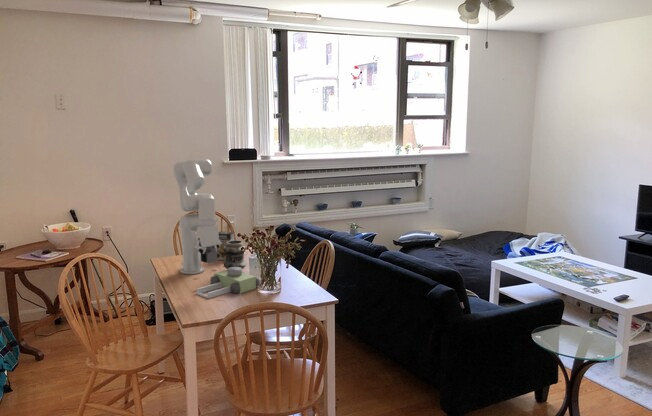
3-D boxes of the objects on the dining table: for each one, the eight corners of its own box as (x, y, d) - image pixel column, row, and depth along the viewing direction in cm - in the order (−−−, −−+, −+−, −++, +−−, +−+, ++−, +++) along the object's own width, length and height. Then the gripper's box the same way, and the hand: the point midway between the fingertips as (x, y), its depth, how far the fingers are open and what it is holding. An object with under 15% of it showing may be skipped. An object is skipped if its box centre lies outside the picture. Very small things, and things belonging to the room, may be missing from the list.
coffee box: (216, 260, 304) (215, 233, 301) (220, 257, 310) (219, 231, 307) (231, 260, 302) (230, 233, 300) (234, 257, 309) (234, 231, 306)
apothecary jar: (241, 278, 268) (241, 244, 265) (220, 276, 271) (219, 243, 268) (249, 271, 280) (249, 239, 277) (229, 270, 282) (228, 238, 279)
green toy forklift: (189, 291, 248) (188, 273, 246) (232, 278, 267) (232, 262, 266) (215, 301, 234) (215, 282, 233) (259, 287, 254) (259, 269, 252)
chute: (200, 261, 243) (200, 247, 242) (209, 259, 247) (209, 245, 246) (208, 263, 239) (207, 249, 238) (217, 261, 243) (216, 247, 242)
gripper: (217, 219, 249) (219, 255, 252) (187, 224, 237) (189, 262, 239) (227, 221, 244) (228, 258, 247) (196, 226, 232) (198, 265, 234)
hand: (209, 260), depth 243 cm, fingers closed on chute, 5 cm apart
